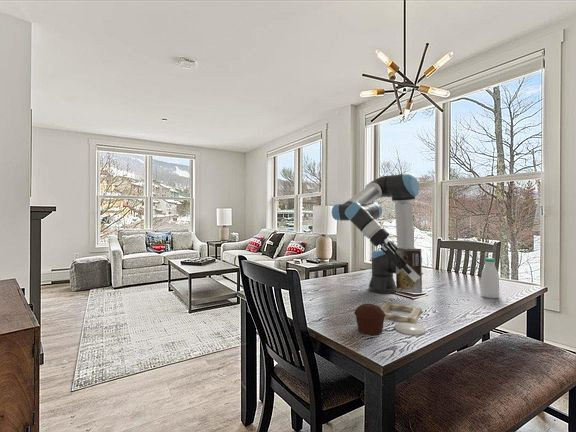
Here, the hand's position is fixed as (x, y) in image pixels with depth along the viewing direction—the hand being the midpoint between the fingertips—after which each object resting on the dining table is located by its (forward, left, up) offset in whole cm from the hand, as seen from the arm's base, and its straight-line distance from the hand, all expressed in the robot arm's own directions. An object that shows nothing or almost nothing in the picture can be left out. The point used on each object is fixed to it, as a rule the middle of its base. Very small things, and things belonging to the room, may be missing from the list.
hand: (419, 277), depth 118 cm
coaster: (-3, 0, -20) cm, 21 cm away
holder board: (-10, +15, -20) cm, 27 cm away
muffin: (-16, -9, -21) cm, 28 cm away
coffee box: (-4, 0, -6) cm, 7 cm away
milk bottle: (+25, +66, -21) cm, 73 cm away
